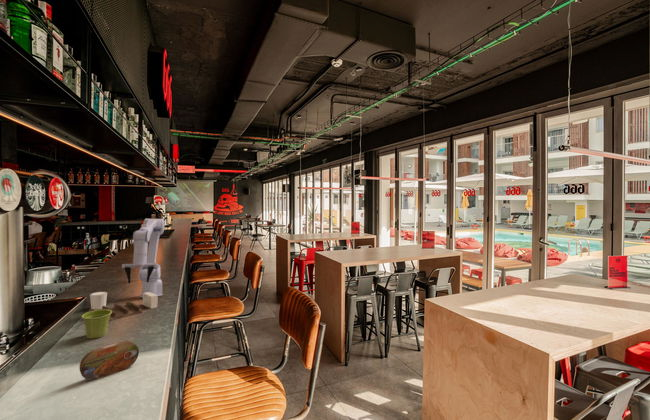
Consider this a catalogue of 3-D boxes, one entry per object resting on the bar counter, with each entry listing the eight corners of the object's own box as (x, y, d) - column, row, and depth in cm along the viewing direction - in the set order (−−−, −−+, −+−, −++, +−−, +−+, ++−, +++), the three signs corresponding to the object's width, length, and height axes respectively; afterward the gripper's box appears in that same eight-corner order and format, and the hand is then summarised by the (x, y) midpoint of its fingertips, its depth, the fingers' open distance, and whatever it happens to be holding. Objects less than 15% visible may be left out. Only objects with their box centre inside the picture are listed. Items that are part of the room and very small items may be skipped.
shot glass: (97, 310, 145) (97, 296, 145) (85, 309, 146) (86, 294, 146) (110, 305, 152) (110, 292, 152) (99, 304, 153) (99, 290, 153)
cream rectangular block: (148, 303, 158) (149, 291, 157) (157, 307, 152) (157, 295, 152) (142, 304, 155) (143, 293, 155) (151, 308, 150) (151, 296, 150)
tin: (80, 385, 87) (80, 356, 87) (78, 380, 89) (78, 352, 89) (139, 364, 98) (139, 339, 98) (135, 361, 100) (136, 336, 100)
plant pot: (117, 332, 121) (117, 311, 121) (92, 342, 112) (92, 319, 112) (100, 329, 124) (101, 308, 124) (75, 338, 116) (75, 315, 115)
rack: (128, 306, 152) (128, 300, 152) (141, 312, 144) (141, 306, 144) (87, 315, 138) (87, 309, 138) (99, 323, 130) (99, 316, 130)
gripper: (123, 254, 143) (121, 284, 141) (158, 254, 151) (156, 282, 149) (122, 255, 149) (120, 283, 147) (156, 254, 157) (154, 281, 155)
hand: (138, 282), depth 148 cm, fingers open, 7 cm apart
